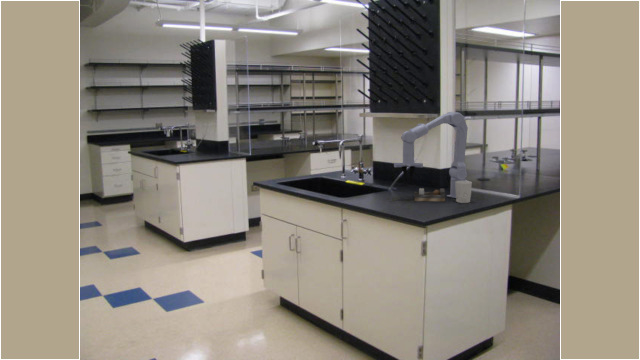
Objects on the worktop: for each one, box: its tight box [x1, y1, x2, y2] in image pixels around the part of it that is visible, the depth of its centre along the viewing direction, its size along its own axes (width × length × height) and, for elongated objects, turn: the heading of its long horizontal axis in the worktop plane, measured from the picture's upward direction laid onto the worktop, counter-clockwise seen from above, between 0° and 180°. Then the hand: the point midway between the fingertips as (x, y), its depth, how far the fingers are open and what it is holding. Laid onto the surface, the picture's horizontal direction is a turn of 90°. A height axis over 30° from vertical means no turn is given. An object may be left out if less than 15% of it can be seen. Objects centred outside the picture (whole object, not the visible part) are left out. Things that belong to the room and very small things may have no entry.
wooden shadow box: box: [414, 187, 446, 202], centre depth 261 cm, size 15×9×5 cm, turn 80°
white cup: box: [455, 180, 473, 204], centre depth 253 cm, size 8×8×10 cm
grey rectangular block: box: [418, 187, 425, 195], centre depth 261 cm, size 2×6×3 cm, turn 169°
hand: (408, 181), depth 262 cm, fingers closed
